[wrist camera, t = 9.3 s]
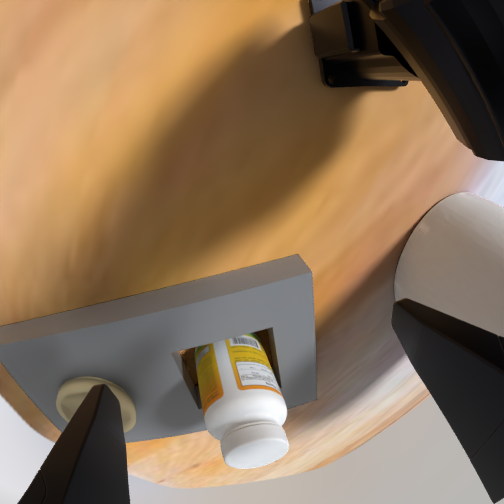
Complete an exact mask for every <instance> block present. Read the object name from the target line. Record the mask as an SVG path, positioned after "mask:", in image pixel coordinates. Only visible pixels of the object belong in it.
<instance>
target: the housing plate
mask: <svg viewBox="0 0 504 504" xmlns="http://www.w3.org/2000/svg"><path fill="white" fill-rule="evenodd" d="M264 329H267V332H268V337H269V343H270V349H271V355H272V361H273V367H272V371H273V373H274V376H275V379H276V381H277V384H278V386H279V389H280V391H281V394H282V396H283V398H284V401H285V404H286V407H287V409H290V408H293V407H296V406H299V405H302V404H305V403H308V402H311V401H314V400H317V384H316V342H315V316H314V296H313V278H312V271H311V270H310V269H309V267H308V266H307V265H306V263H305V262H304V261H303V259H302V258H301V257H300V256H299V254H296V255H292V256H288V257H285V258H281V259H277V260H273V261H269V262H265V263H261V264H257V265H253V266H250V267H246V268H242V269H238V270H234V271H230V272H226V273H222V274H218V275H214V276H210V277H206V278H202V279H198V280H194V281H190V282H186V283H182V284H178V285H174V286H170V287H166V288H162V289H157V290H153V291H149V292H145V293H141V294H137V295H133V296H129V297H125V298H120V299H116V300H112V301H108V302H104V303H99V304H95V305H91V306H87V307H83V308H78V309H74V310H70V311H66V312H61V313H57V314H53V315H48V316H44V317H40V318H35V319H31V320H27V321H22V322H18V323H13V324H9V325H5V326H0V362H1V363H2V364H3V366H4V367H5V368H6V370H7V371H8V372H9V374H10V375H11V376H12V377H13V379H14V380H15V381H16V382H17V384H18V385H19V386H20V387H21V389H22V390H23V391H24V392H25V393H26V394H27V396H28V397H29V398H30V399H31V400H32V401H33V403H34V404H35V405H36V406H37V407H38V408H39V409H40V410H41V411H42V413H43V414H44V415H45V416H46V417H47V418H48V419H49V420H50V421H51V422H52V423H53V424H54V425H55V426H56V427H57V428H58V429H59V430H60V431H61V432H63V431H64V429H65V427H66V426H67V424H68V423H69V421H70V420H71V418H72V417H73V415H74V413H75V412H76V410H77V409H78V407H79V406H80V404H81V403H82V401H83V400H84V398H85V397H86V395H87V394H88V392H89V391H90V389H91V388H92V387H93V386H94V385H98V384H106V385H107V386H108V387H109V388H110V389H111V391H112V392H113V393H114V394H115V396H116V397H117V398H118V400H119V402H120V407H121V415H122V423H123V430H124V437H125V443H129V442H137V441H145V440H153V439H159V438H166V437H172V436H178V435H184V434H189V433H194V432H199V431H204V430H207V428H206V424H205V420H204V415H203V409H202V403H201V397H200V391H199V386H198V387H195V385H194V383H193V381H192V379H191V376H190V374H189V372H188V370H187V368H186V365H185V363H184V361H183V359H182V356H181V354H180V352H179V351H180V350H185V349H189V348H193V347H198V346H202V345H206V344H210V343H214V342H218V341H222V340H226V339H230V338H234V337H238V336H242V335H245V334H249V333H253V332H256V331H260V330H264Z"/></svg>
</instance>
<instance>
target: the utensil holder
mask: <svg viewBox="0 0 504 504" xmlns="http://www.w3.org/2000/svg"><path fill="white" fill-rule="evenodd" d="M394 293H395V299H396V301H398V300H400V299H403V298H408V299H411V300H413V301H416V302H418V303H421V304H423V305H426V306H428V307H431V308H433V309H436V310H438V311H441V312H443V313H446V314H448V315H451V316H453V317H456V318H458V319H460V320H463V321H465V322H468V323H470V324H473V325H475V326H478V327H480V328H482V329H485V330H487V331H490V332H492V333H494V334H497V335H498V336H502V337H504V207H503V206H500V205H498V204H496V203H494V202H492V201H489V200H487V199H485V198H483V197H480V196H478V195H476V194H473V193H468V192H461V193H456V194H453V195H450V196H448V197H446V198H445V199H443V200H441V201H440V202H439V203H438V204H436V205H435V206H434V207H433V208H432V209H431V210H430V211H429V212H428V213H427V214H426V215H425V216H424V217H423V219H422V220H421V221H420V222H419V224H418V225H417V226H416V228H415V229H414V231H413V232H412V234H411V236H410V237H409V239H408V241H407V243H406V245H405V247H404V249H403V252H402V254H401V256H400V259H399V262H398V265H397V269H396V274H395V281H394Z"/></svg>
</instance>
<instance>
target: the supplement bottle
mask: <svg viewBox="0 0 504 504" xmlns="http://www.w3.org/2000/svg"><path fill="white" fill-rule="evenodd" d="M195 364H196V371H197V378H198V384H199V391H200V397H201V403H202V409H203V415H204V420H205V424H206V428H207V430H208V432H209V433H210V434H211V435H212V436H213V437H214V438H216V439H218V440H220V444H221V451H222V454H223V458H224V461H225V463H226V464H227V465H228V466H230V467H233V468H238V469H250V468H257V467H261V466H264V465H268V464H270V463H272V462H275V461H276V460H278V459H280V458H281V457H283V456H284V455H285V454H286V453H287V451H288V449H289V443H288V440H287V437H286V434H285V431H284V429H283V428H282V425H283V423H284V422H285V420H286V416H287V407H286V404H285V401H284V398H283V396H282V394H281V391H280V389H279V386H278V384H277V381H276V379H275V376H274V373H273V371H272V368H271V366H270V363H269V361H268V358H267V356H266V353H265V350H264V348H263V345H262V343H261V341H260V339H259V337H258V336H257V335H256V334H255V333H254V332H253V333H249V334H245V335H242V336H238V337H234V338H230V339H226V340H222V341H218V342H214V343H210V344H206V345H202V346H198V347H196V349H195Z"/></svg>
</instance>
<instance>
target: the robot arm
mask: <svg viewBox="0 0 504 504" xmlns="http://www.w3.org/2000/svg"><path fill="white" fill-rule="evenodd" d="M309 5H310V10H311V17H310V18H309V21H310V26H311V32H312V38H313V44H314V50H315V55H316V56H317V57H318V58H319V63H320V70H321V77H322V82H323V84H324V85H325V86H326V87H329V88H334V87H357V86H406V85H407V84H408V81H422V83H423V84H424V86H425V87H426V89H427V90H428V92H429V93H430V95H431V96H432V98H433V99H434V101H435V103H436V104H437V106H438V107H439V109H440V111H441V112H442V114H443V115H444V117H445V119H446V120H447V122H448V124H449V126H450V127H451V129H452V131H453V133H454V134H455V136H456V138H457V139H458V140H459V141H460V142H461V143H463V144H464V145H465V146H466V147H468V148H469V149H471V150H472V151H473V153H474V155H475V156H477V157H481V158H484V159H487V160H495V161H504V0H309ZM330 76H331V77H332V78H333V82H332V83H330V82H329V80H328V79H329V77H330ZM401 80H402V82H401ZM392 327H393V329H394V331H395V333H396V335H397V337H398V338H399V340H400V342H401V344H402V346H403V348H404V350H405V352H406V354H407V356H408V358H409V360H410V362H411V364H412V365H413V367H414V369H415V370H416V372H417V373H418V375H419V376H420V378H421V379H422V381H423V383H424V384H425V386H426V387H427V389H428V390H429V392H430V394H431V395H432V397H433V398H434V400H435V401H436V403H437V405H438V406H439V408H440V410H441V411H442V413H443V415H444V416H445V418H446V419H447V421H448V423H449V424H450V426H451V428H452V429H453V431H454V433H455V434H456V436H457V438H458V440H459V441H460V443H461V445H462V447H463V448H464V450H465V452H466V454H467V455H468V457H469V459H470V461H471V463H472V465H473V467H474V468H475V470H476V472H477V474H478V476H479V477H480V479H481V481H482V483H483V485H484V487H485V489H486V491H487V493H488V495H489V497H490V499H491V500H492V502H493V503H494V504H495V503H496V502H498V501H500V500H501V499H503V498H504V337H502V336H498V335H497V334H494V333H492V332H490V331H487V330H485V329H482V328H480V327H478V326H475V325H473V324H470V323H468V322H465V321H463V320H460V319H458V318H456V317H453V316H451V315H448V314H446V313H443V312H441V311H438V310H436V309H433V308H431V307H428V306H426V305H423V304H421V303H418V302H416V301H413V300H411V299H408V298H403V299H400V300H398V301H396V302H395V303H394V305H393V313H392ZM40 469H41V470H39V471H38V473H37V474H36V476H35V478H34V479H33V481H32V483H31V484H30V486H29V488H28V489H27V490H26V492H25V493H24V495H23V496H22V498H21V499H20V501H19V502H18V503H17V504H130V496H129V485H128V471H127V454H126V444H125V437H124V430H123V423H122V415H121V407H120V402H119V400H118V398H117V397H116V396H115V394H114V393H113V392H112V391H111V389H110V388H109V387H108V386H107V385H106V384H98V385H94V386H93V387H92V388H91V389H90V391H89V392H88V394H87V395H86V397H85V398H84V400H83V401H82V403H81V404H80V406H79V407H78V409H77V410H76V412H75V413H74V415H73V417H72V418H71V420H70V421H69V423H68V424H67V426H66V427H65V429H64V431H63V432H62V434H61V435H60V437H59V438H58V440H57V442H56V443H55V445H54V446H53V448H52V450H51V451H50V453H49V455H48V456H47V458H46V460H45V461H44V463H43V465H42V466H41V468H40Z"/></svg>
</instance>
